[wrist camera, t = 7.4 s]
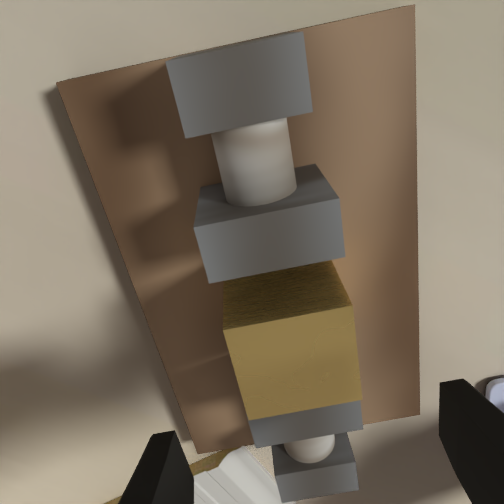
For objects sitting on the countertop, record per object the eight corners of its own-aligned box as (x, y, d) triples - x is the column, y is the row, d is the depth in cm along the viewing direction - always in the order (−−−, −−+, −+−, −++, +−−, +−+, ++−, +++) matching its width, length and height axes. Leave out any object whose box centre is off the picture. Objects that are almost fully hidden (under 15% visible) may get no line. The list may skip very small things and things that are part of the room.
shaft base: (401, 6, 15) (477, -7, 10) (411, 397, 23) (454, 482, 19) (67, 79, 15) (1, 97, 11) (199, 435, 24) (192, 527, 19)
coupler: (320, 235, 17) (352, 305, 13) (330, 314, 19) (362, 399, 15) (223, 254, 17) (222, 330, 13) (243, 331, 19) (248, 420, 15)
